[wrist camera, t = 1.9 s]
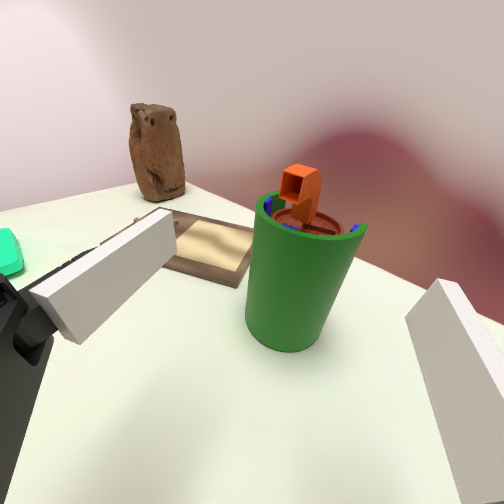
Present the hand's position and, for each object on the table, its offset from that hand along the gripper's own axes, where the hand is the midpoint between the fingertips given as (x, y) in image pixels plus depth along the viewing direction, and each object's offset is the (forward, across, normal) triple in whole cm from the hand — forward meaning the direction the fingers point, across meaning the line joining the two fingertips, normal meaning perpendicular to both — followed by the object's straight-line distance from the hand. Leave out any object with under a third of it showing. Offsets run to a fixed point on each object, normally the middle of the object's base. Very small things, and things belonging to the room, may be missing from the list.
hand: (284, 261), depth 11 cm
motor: (+10, +1, -17) cm, 20 cm away
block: (+37, -36, -18) cm, 55 cm away
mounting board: (+21, -19, -18) cm, 33 cm away
